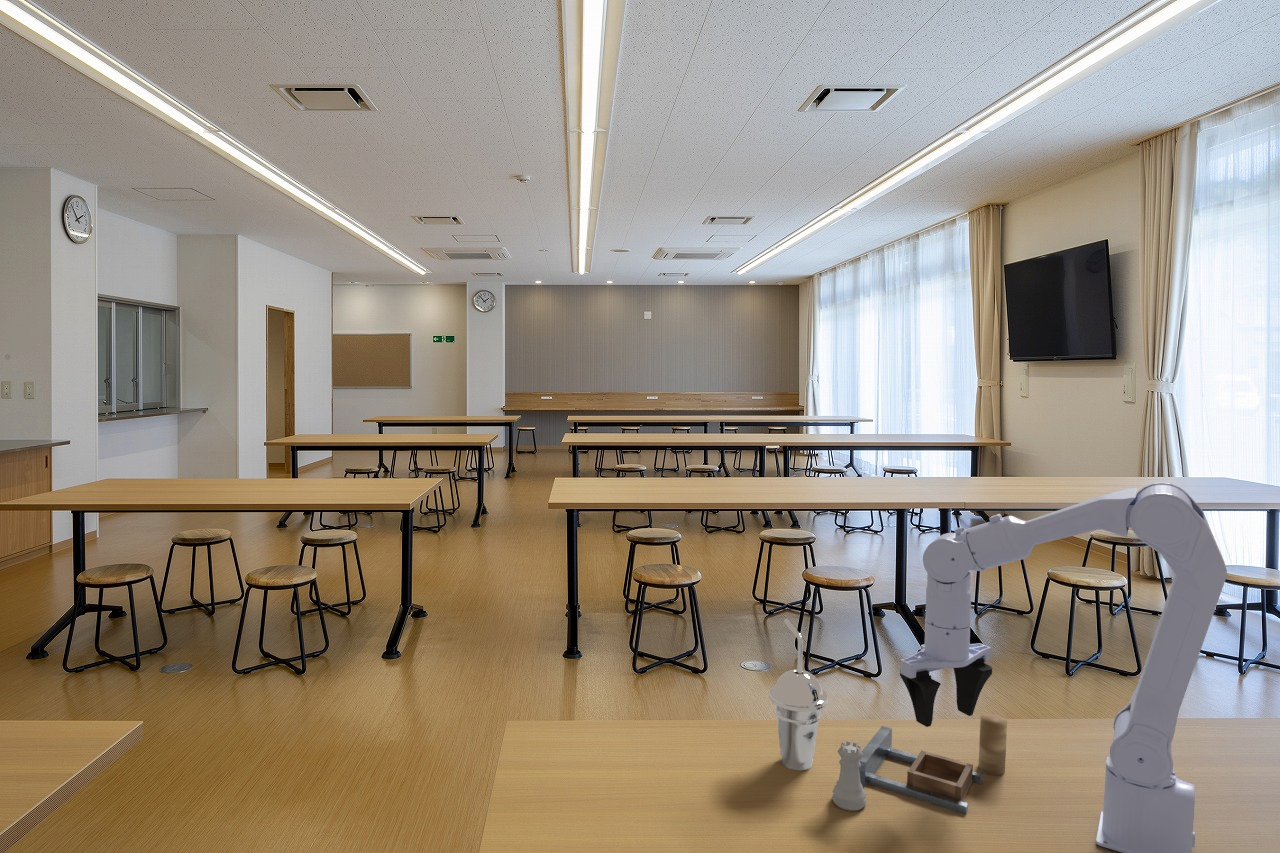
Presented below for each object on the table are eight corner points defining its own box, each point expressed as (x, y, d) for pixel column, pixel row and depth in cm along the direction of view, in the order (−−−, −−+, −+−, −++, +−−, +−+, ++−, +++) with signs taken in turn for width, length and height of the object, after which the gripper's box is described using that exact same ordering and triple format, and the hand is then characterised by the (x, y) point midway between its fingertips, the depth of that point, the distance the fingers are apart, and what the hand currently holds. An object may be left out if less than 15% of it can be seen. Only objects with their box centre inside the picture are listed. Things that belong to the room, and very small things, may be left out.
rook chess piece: (867, 814, 103) (869, 755, 102) (832, 810, 104) (833, 752, 103) (865, 795, 107) (866, 739, 106) (831, 791, 108) (832, 736, 107)
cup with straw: (765, 773, 113) (767, 637, 111) (770, 743, 121) (772, 616, 119) (826, 781, 111) (829, 643, 109) (826, 749, 119) (830, 621, 117)
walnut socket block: (972, 782, 110) (972, 764, 110) (960, 806, 105) (961, 787, 104) (920, 767, 114) (921, 750, 114) (906, 789, 109) (907, 771, 108)
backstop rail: (983, 777, 112) (984, 753, 112) (964, 818, 102) (965, 792, 102) (881, 747, 120) (882, 725, 120) (854, 783, 110) (855, 759, 110)
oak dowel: (1006, 767, 115) (1009, 717, 114) (1002, 778, 112) (1004, 727, 111) (981, 760, 117) (983, 711, 116) (976, 770, 114) (978, 720, 113)
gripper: (964, 606, 114) (961, 697, 116) (885, 620, 108) (883, 716, 110) (1004, 621, 108) (1001, 717, 109) (923, 637, 102) (920, 738, 103)
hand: (944, 718), depth 109 cm, fingers open, 7 cm apart
